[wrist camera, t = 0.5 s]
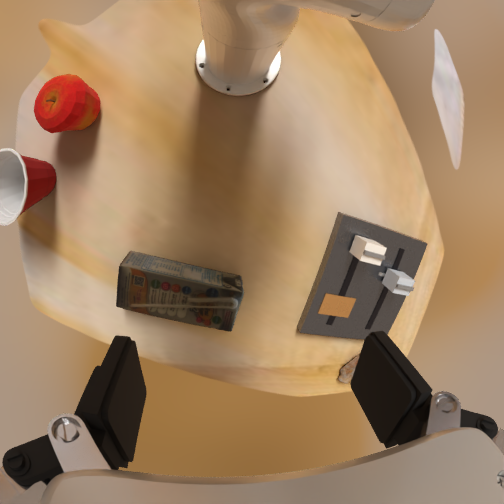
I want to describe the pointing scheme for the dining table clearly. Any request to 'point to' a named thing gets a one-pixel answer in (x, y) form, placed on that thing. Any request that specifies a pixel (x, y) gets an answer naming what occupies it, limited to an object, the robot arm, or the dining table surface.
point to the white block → (398, 282)
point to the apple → (66, 104)
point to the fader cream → (368, 250)
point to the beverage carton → (179, 291)
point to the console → (358, 282)
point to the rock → (348, 371)
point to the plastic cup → (22, 183)
